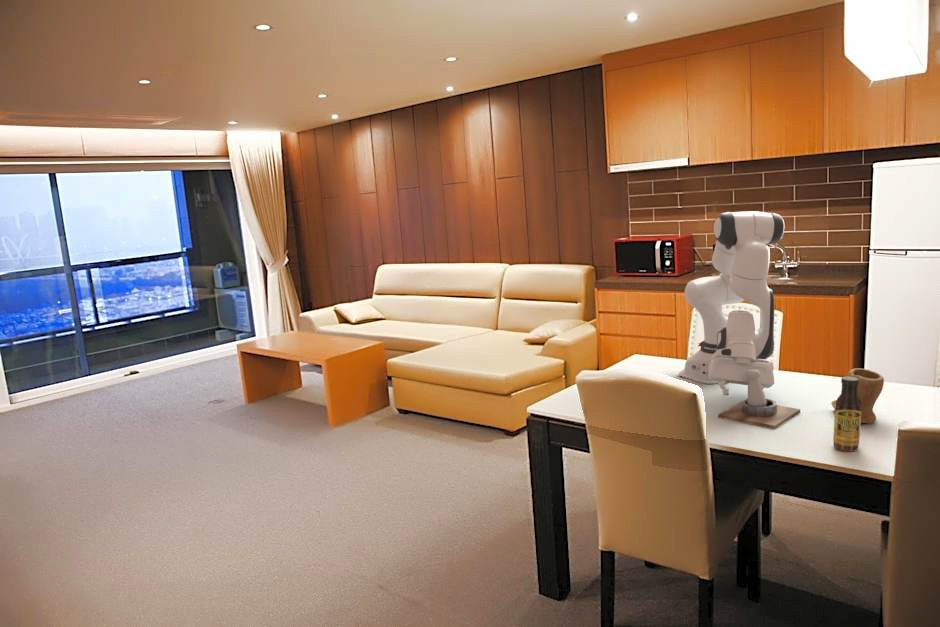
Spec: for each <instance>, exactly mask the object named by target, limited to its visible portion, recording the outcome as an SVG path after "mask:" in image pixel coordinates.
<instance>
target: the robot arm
mask: <svg viewBox="0 0 940 627" xmlns="http://www.w3.org/2000/svg"><path fill="white" fill-rule="evenodd" d="M785 228H786V227H785V220H784V218H783V217H782V216H781V215H780V214H778V213H775V212H763V211H753V210H751V211H735V212H731V211H727V212H722V213H719V215H717V217H716V219H715V221H714V225H713V235H714V238H715V239H716V243H715V246H714V250H713V253H712V257H711V263H712V266H713V267H714V269H715V270H717V272H719V275H713V276H712V275H711V276H704V277H702V276H701V277H699V278H695V279H693V280H690V281H689V282H687V284H686V286H685V289H684V298H685V300H686V302H687V303H688V304H689V305H690V306H691V307H693V308H694V309H696V311H697V312H698V313H699V315H700V318H701V319H702V323H703V324H702V325H703V335H704V336H703V338H704V340H702V341H701V342H699V343H698V344H697V347H698V348H699V347H700V349H699V350H698V351H697V352H696V353H694V354H692V355H691V356H689V357H688V358H687V359H686V362H685V363H684V364H685V366H684V369H682V370H681V371H679V372H678V377H680V376H682V377H681V378H683V377H686V378H685V379H687V378H689V379H688V380H691V379H693V380H692V381H695V380H696V382H700V383H703V384H709V385H711V384H718V386H719V387H720V388H721V390H722V396H729V394H730V389H729V388H727V387H726V385H725V384H726V383H727V384H736V385H743V386H748V378H746V376H745V372H746V371H748V370H758V371H759V372H760V377H758V378H759V381H760V384H761V387H762V390H764V389H769V388H771V387H773V386H774V384H775V376H774V375H775V374H774V364H773V362H771V361H770V360H769V359H768V358H770V357H771V356H772V355H773V354H774V351H775V338H774V337H775V336H774V334H775V332H774V330H775V329H774V328H775V294H774V292H773V289H771V288H770V287H769V286H768V282H767V280H768V274H769V269H770V259H771V258H770V257H771V253H770V247H769V246H768V245H770V246H771V245H775V244H778V243H779V242H780V241H781V240H782V238H783V237H784V233H785ZM745 301H746V302H748V303H750V304H752V305H754V306H756V307H757V308H759V312H760V313H759V328H758V329H756V324H755V318H754V315H753V313H752V312H751V311H748V310H742V309H741V310H740V309H739V310H732V311H730V312H729V313H728V314H726V313H724V312H723V309H722V306H725V305H734V304H740V303H742V302H745Z"/></svg>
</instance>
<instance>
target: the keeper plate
mask: <svg viewBox="0 0 940 627" xmlns="http://www.w3.org/2000/svg"><path fill="white" fill-rule="evenodd" d="M742 401H743V400H742ZM742 401H740V402H738V403H736V404H734V405H732V406H731V407H729V408H727V409H725V410H723V411H721V412H720V413H718V418H720V417H721V418H720V419H725V418H726V419H725V420H731V421H736V422H741V423H745V424H750V425H755V426H758V427H764V428H768V429H769V428H770V429H773V430H775V429H777V428H778V427H780V426H782V425H783V424H785V423H786V422H788V421H789V420H791V419H792V418H794V417H795V416H797V415H798V414H800V413H801V409H800V408H796V407H790V406H786V405H785V406H784V405H779V404H777V414H775V415H774V416H770V417H753V416H748V415H746V414H744V413H742Z"/></svg>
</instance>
